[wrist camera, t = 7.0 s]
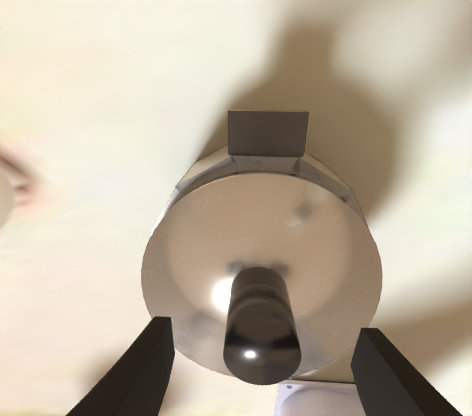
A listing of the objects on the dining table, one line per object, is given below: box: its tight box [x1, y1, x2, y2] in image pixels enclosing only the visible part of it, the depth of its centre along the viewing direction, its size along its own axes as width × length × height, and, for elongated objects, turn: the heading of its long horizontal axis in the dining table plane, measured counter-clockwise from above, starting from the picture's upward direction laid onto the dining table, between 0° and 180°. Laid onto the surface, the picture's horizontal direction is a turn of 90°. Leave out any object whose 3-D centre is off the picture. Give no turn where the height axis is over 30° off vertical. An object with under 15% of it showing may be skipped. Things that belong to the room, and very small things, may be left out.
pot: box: [151, 110, 369, 235], centre depth 17 cm, size 12×16×5 cm
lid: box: [141, 171, 382, 385], centre depth 13 cm, size 13×13×6 cm
